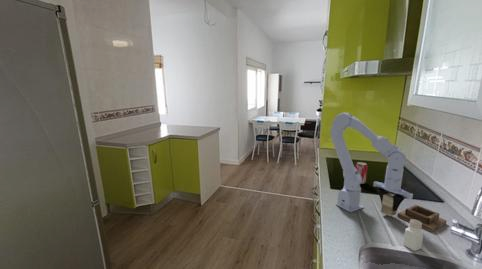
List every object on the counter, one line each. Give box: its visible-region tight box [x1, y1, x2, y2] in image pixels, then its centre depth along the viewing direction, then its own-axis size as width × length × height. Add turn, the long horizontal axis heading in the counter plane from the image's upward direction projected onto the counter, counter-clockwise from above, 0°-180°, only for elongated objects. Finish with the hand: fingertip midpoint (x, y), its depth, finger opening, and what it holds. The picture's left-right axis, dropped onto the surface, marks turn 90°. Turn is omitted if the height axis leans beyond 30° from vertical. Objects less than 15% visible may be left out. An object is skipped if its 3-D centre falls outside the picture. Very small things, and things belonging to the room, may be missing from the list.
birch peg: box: [380, 192, 398, 217], centre depth 93 cm, size 4×4×8 cm
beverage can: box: [354, 161, 369, 185], centre depth 128 cm, size 6×6×12 cm
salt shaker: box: [402, 219, 424, 252], centre depth 74 cm, size 4×4×10 cm
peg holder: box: [396, 204, 448, 233], centre depth 90 cm, size 12×12×4 cm
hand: (389, 207), depth 93 cm, fingers closed on birch peg, 4 cm apart
